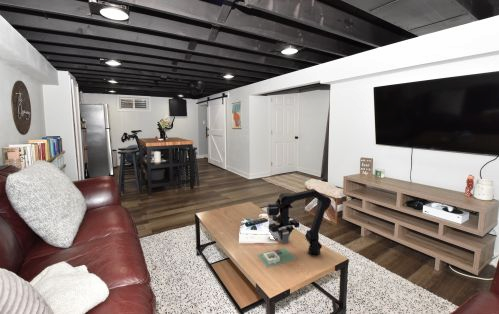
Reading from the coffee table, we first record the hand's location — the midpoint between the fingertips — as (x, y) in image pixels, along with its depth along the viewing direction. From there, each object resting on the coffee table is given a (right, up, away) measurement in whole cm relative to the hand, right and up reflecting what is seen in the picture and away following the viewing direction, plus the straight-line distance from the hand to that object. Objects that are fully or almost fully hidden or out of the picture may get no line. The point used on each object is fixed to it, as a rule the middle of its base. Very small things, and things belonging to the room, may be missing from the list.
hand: (283, 238), depth 146 cm
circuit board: (-4, -13, +1) cm, 14 cm away
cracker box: (0, -10, +22) cm, 24 cm away
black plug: (0, -2, 0) cm, 2 cm away
